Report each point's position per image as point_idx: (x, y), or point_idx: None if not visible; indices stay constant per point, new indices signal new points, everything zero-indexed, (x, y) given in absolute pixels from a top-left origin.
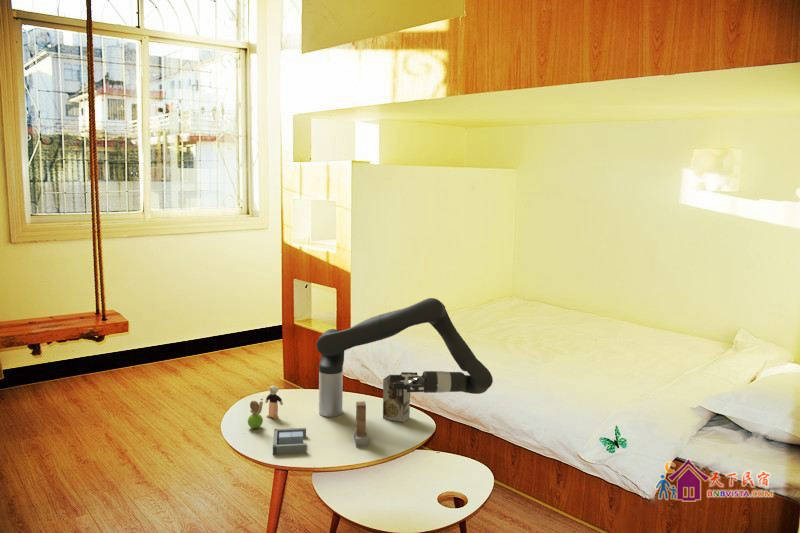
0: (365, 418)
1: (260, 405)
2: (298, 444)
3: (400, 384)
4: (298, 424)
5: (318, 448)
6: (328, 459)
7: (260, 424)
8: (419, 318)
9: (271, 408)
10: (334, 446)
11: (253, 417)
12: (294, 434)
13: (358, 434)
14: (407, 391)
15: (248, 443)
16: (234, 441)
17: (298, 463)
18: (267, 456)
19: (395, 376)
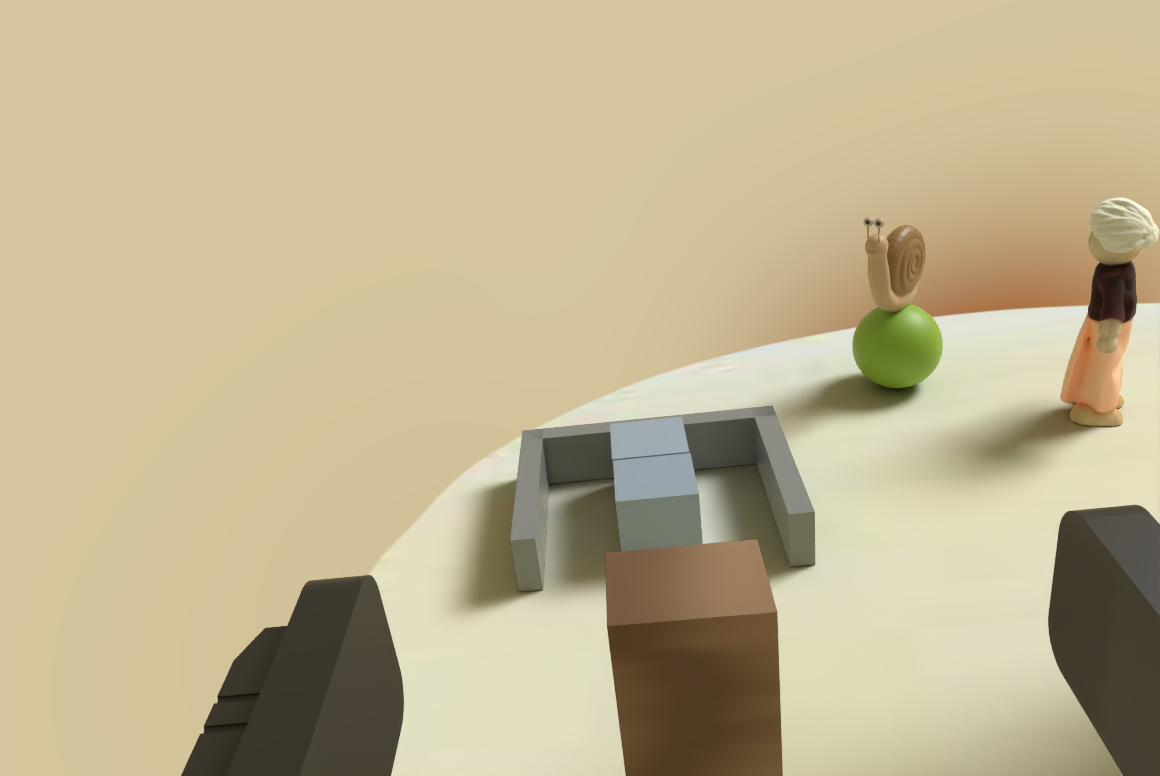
0: (626, 769)
1: (868, 257)
2: (524, 508)
3: (256, 752)
4: (1017, 514)
5: (586, 641)
6: None
7: (877, 371)
8: None
9: (1075, 346)
10: (610, 731)
11: (867, 315)
12: (648, 467)
13: None
14: None
15: (688, 395)
16: (712, 361)
17: (385, 572)
18: (518, 462)
19: (1150, 643)
